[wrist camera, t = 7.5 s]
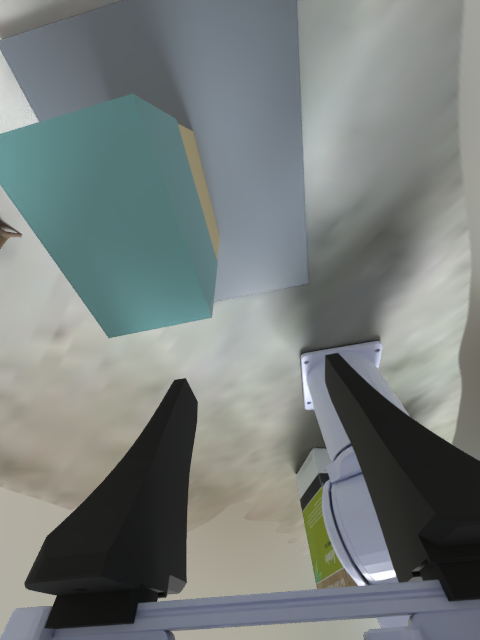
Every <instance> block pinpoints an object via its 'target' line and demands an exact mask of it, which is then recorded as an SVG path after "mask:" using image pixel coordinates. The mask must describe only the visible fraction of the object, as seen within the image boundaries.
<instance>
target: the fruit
mask: <svg viewBox="0 0 480 640" xmlns="http://www.w3.org/2000/svg"><path fill="white" fill-rule="evenodd" d="M21 235H22V234H20V233H11V232H6V231H4V230H2V229H0V249H1V247H2V246H3V244H4V243H5V242H6V240H7V239H8V238H10V237H21Z"/></svg>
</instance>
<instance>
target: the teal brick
mask: <svg viewBox="0 0 480 640" xmlns="http://www.w3.org/2000/svg"><path fill="white" fill-rule="evenodd" d="M0 185H1V186H2V188H3V189H4V191H5V192H6V193H7V195H8V196H9V198H10V199H11V200H12V202H13V203H14V205H15V206H16V207H17V209H18V210H19V212H20V213H21V215H22V216H23V217H24V219H25V220H26V222H27V223H28V224H29V226H30V227H31V229H32V230H33V232H34V233H35V234H36V236H37V237H38V239H39V240H40V241H41V243H42V244H43V246H44V247H45V249H46V250H47V251H48V253H49V254H50V256H51V257H52V258H53V260H54V261H55V263H56V264H57V265H58V267H59V268H60V270H61V271H62V273H63V274H64V275H65V277H66V278H67V280H68V281H69V282H70V284H71V285H72V287H73V288H74V290H75V291H76V292H77V294H78V295H79V297H80V298H81V299H82V301H83V302H84V304H85V305H86V306H87V308H88V309H89V311H90V312H91V314H92V315H93V316H94V318H95V319H96V321H97V322H98V323H99V325H100V326H101V328H102V329H103V331H104V332H105V333H106V335H107V336H108V338H112V337H117V336H122V335H127V334H132V333H137V332H142V331H147V330H152V329H157V328H162V327H167V326H172V325H177V324H182V323H187V322H192V321H197V320H202V319H207V318H212V311H213V303H214V294H215V285H216V276H217V267H218V262H217V259H216V255H215V252H214V248H213V245H212V241H211V238H210V234H209V231H208V227H207V224H206V220H205V217H204V213H203V210H202V206H201V203H200V199H199V196H198V193H197V189H196V186H195V182H194V179H193V175H192V172H191V168H190V165H189V161H188V158H187V154H186V151H185V147H184V144H183V140H182V137H181V133H180V130H179V126H178V123H177V119H176V118H174V117H172V116H170V115H169V114H167V113H165V112H164V111H162V110H160V109H158V108H157V107H155V106H153V105H152V104H150V103H148V102H147V101H145V100H143V99H141V98H140V97H138V96H136V95H135V94H130V95H126V96H123V97H120V98H117V99H113V100H110V101H107V102H104V103H100V104H97V105H94V106H90V107H87V108H84V109H81V110H77V111H74V112H71V113H68V114H64V115H61V116H58V117H54V118H51V119H48V120H45V121H41V122H38V123H35V124H32V125H28V126H25V127H22V128H19V129H15V130H12V131H9V132H5V133H2V134H0Z"/></svg>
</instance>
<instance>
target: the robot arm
mask: <svg viewBox="0 0 480 640" xmlns="http://www.w3.org/2000/svg"><path fill="white" fill-rule="evenodd" d="M382 348H383V344H382V343H381V342H380V341H373V342H368V343H362V344H356V345H350V346H344V347H338V348H332V349H326V350H320V351H314V352H308V353H304V354H302V355H301V370H302V382H303V395H304V407H305V409H306V410H313V409H314V411H315V414H316V417H317V420H318V423H319V427H320V430H321V433H322V436H323V439H324V442H325V445H326V448H327V451H328V454H329V457H330V459H331V461H332V462H333V463H331V464H329V465H327V466H326V468H327V471H328V475H329V478H330V480H328V481H327V482H326V483H325V484H324V487H323V493H322V513H323V518H324V523H325V527H326V530H327V533H328V536H329V539H330V542H331V544H332V547H333V549H334V551H335V553H336V555H337V557H338V559H339V560H340V562H341V564H342V565H343V567H344V568H345V570H346V571H347V572H348V573H349V575H350V576H351V577H352V578H353V580H354V581H355V582H356V584H357V585H358V586H352V587H339V588H326V589H313V590H301V591H288V592H275V593H263V594H250V595H237V596H224V597H212V598H198V599H187V600H174V601H160V602H157V599H158V598H166V596H167V594H178V593H180V592H181V591H182V589H183V588H184V586H185V585H186V583H187V581H186V580H187V579H186V538H187V505H188V486H189V472H190V464H191V458H192V451H193V445H194V438H195V432H196V425H197V405H198V402H197V400H196V398H195V396H194V394H193V392H192V390H191V388H190V386H189V384H188V382H187V380H186V378H184V379H178V380H174V382H173V383H172V385H171V387H170V388H169V390H168V392H167V393H166V395H165V397H164V398H163V400H162V402H161V403H160V405H159V407H158V408H157V410H156V412H155V413H154V415H153V416H152V418H151V420H150V421H149V423H148V424H147V426H146V427H145V429H144V430H143V431H142V433H141V434H140V436H139V437H138V439H137V440H136V441H135V443H134V444H133V446H132V447H131V448H130V449H129V451H128V452H127V453H126V455H125V456H124V457H123V458H122V460H121V461H120V462H119V463H118V464H117V466H116V467H115V468H114V469H113V470H112V471H111V473H110V474H109V475H108V476H107V477H106V478H105V480H104V481H103V482H102V483H101V484H100V485H99V486H98V487H97V488H96V489H95V490H94V491H93V492H92V493H91V494H90V496H89V497H88V498H87V499H86V500H85V501H84V502H83V503H82V504H81V505H80V506H79V507H78V508H77V509H76V510H75V511H74V512H73V513H71V514H70V515H69V516H68V517H67V518H66V519H65V520H64V521H63V522H62V523H61V524H60V525H59V526H58V527H57V528H55V530H53V531H52V532H51V533H50V534H49V535H48V536H47V537H46V539H45V541H44V543H43V545H42V547H41V550H40V552H39V554H38V556H37V558H36V560H35V562H34V564H33V566H32V568H31V570H30V573H29V575H28V577H27V579H26V581H25V587H26V588H27V589H29V590H33V591H37V592H42V593H47V594H52V595H57V597H56V599H55V602H54V604H53V607H52V606H40V607H28V608H17V609H15V610H14V611H13V613H12V615H11V617H10V619H9V621H8V623H7V626H6V628H5V630H4V632H3V634H2V636H1V638H0V640H175V637H174V634H173V633H172V632H171V631H180V630H195V629H210V628H225V627H241V626H255V625H271V624H285V623H301V622H316V621H331V620H346V619H362V618H377V620H378V622H379V624H380V626H381V628H380V629H370V630H369V631H368V632H365V633H364V635H363V636H364V640H480V461H478V460H477V459H475V458H473V457H472V456H470V455H468V454H466V453H464V452H463V451H461V450H460V449H458V448H456V447H455V446H453V445H452V444H450V443H449V442H447V441H445V440H444V439H442V438H441V437H439V436H438V435H436V434H434V433H433V432H431V431H430V430H428V429H427V428H425V427H424V426H422V425H421V424H419V423H418V422H417V421H415V420H414V419H412V418H411V417H410V415H409V414H408V413H407V411H406V410H405V408H404V407H403V405H402V404H401V402H400V401H399V399H398V398H397V396H396V395H395V393H394V392H393V390H392V389H391V387H390V386H389V384H388V383H387V381H386V380H385V379H384V377H383V376H382V374H381V373H380V371H379V370H378V368H379V363H380V358H381V353H382Z"/></svg>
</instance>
